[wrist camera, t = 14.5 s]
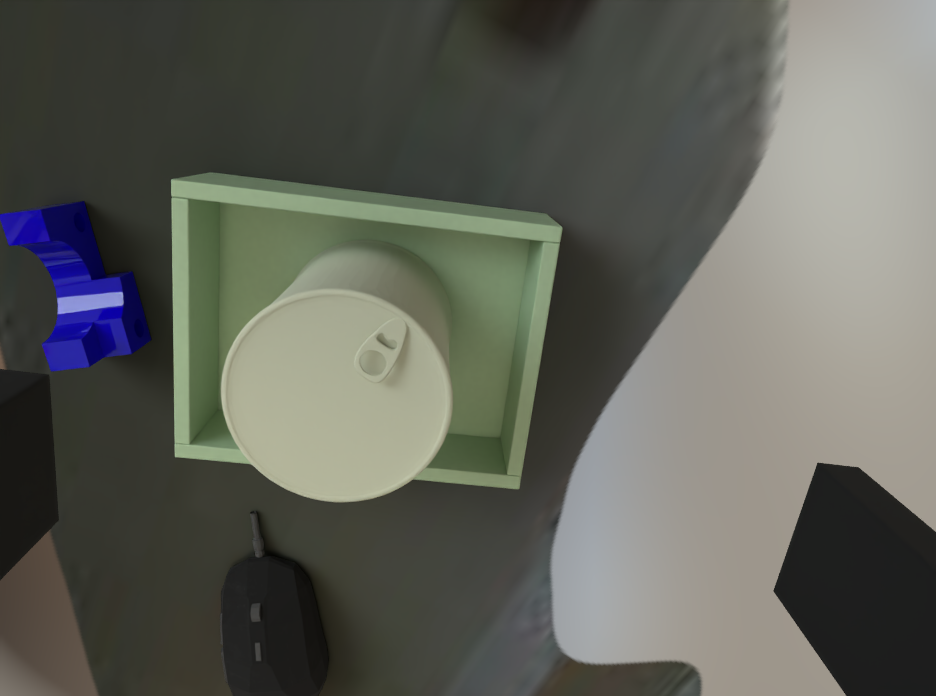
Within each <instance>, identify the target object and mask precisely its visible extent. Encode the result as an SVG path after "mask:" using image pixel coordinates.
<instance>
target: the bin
mask: <svg viewBox="0 0 936 696" xmlns="http://www.w3.org/2000/svg"><path fill="white" fill-rule="evenodd" d="M171 195H172V269H173V346H174V422H175V457H181V458H192V459H203V460H213V461H224V462H234V463H245V464H251V463H250V462H249V461H248V460H247V458H246V457H245V456H244V454H243V453H242V452H241V450H240V449H239V447H238V446H237V444H236V443H235V441H234V439H233V437H232V435H231V433H230V431H229V429H228V426H227V423H226V420H225V417H224V413H223V408H222V400H221V382H222V373H223V369H224V365H225V361H226V358H227V355H228V353H229V351H230V349H231V347H232V345H233V342H234V341H235V339H236V338H237V336H238V334H239V333H240V332H241V330H242V329H243V328H244V327H245V325H246V324H247V323H248V322H249V321H250V320H251V319H252V318H253V317H254V316H256V315H257V314H258V313H259V312H260V311H262V310H263V309H265V308H266V307H267V306H269V305H271V304H272V303H273V302H274V301H275V300H276V299H277V298H278V297H279V296H280V295H281V294H282V293H283V292H284V291H285V290H286V289H287V288H288V287H289V286H290V285H291V284H292V283H293V282H294V280H295V279H296V277H297V275H298V274H299V273H300V271H301V270H302V269H303V267H304V266H305V265H306V264H307V263H308V262H309V261H310V260H311V259H313V258H314V257H315V256H316V255H318V254H319V253H321V252H323V251H324V250H326V249H328V248H330V247H333V246H335V245H338V244H341V243H344V242H349V241H354V240H377V241H382V242H387V243H391V244H394V245H397V246H399V247H401V248H403V249H406V250H408V251H409V252H411V253H413V254H414V255H416V256H417V257H418V258H420V259H421V260H422V261H423V262H425V263H426V264H427V265H428V266H429V267H430V268H431V269H432V271H433V272H434V273H435V274H436V276H437V277H438V279H439V280H440V282H441V283H442V285H443V287H444V289H445V291H446V294H447V297H448V299H449V303H450V308H451V314H452V332H451V338H450V342H449V367H450V377H451V382H452V390H453V410H452V417H451V422H450V426H449V429H448V432H447V435H446V437H445V440H444V442H443V444H442V446H441V448H440V449H439V451H438V453H437V454H436V456H435V457H434V458H433V460H432V461H431V463H430V464H429V465H428V466H427V467H426V468H425V469H424V470H423V471H422V472H421V473H420V474H419V475H417V476H416V477H415V478H414V479H415V480H426V481H436V482H447V483H457V484H468V485H479V486H489V487H500V488H511V489H519V487H520V481H521V474H522V469H523V463H524V457H525V451H526V445H527V439H528V433H529V427H530V421H531V415H532V409H533V403H534V397H535V391H536V385H537V379H538V373H539V367H540V361H541V355H542V349H543V343H544V337H545V331H546V325H547V319H548V313H549V307H550V301H551V295H552V289H553V283H554V277H555V271H556V265H557V259H558V253H559V247H560V244H559V243H560V241H561V235H562V229H563V228H562V227H561V226H560V225H559V224H558V223H557V222H555V221H554V220H553V219H552V218H551V217H549V215H547V214H545V213H537V212H529V211H521V210H513V209H505V208H496V207H488V206H480V205H472V204H464V203H456V202H448V201H440V200H432V199H423V198H415V197H407V196H399V195H391V194H383V193H375V192H367V191H358V190H350V189H342V188H334V187H326V186H318V185H310V184H302V183H293V182H285V181H277V180H269V179H261V178H253V177H245V176H237V175H228V174H220V173H212V172H210V173H205V174H199V175H194V176H188V177H183V178H177V179H172V180H171Z"/></svg>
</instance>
